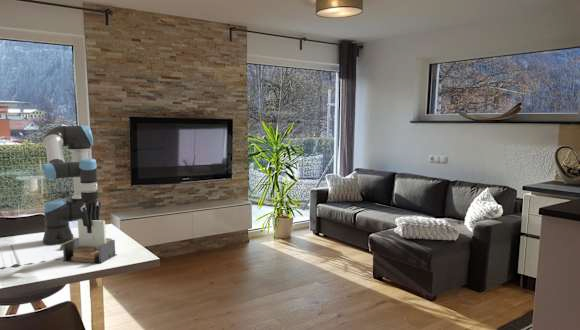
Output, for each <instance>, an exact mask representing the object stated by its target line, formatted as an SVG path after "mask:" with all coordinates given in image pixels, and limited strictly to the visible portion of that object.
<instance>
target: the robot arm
mask: <svg viewBox="0 0 580 330" xmlns="http://www.w3.org/2000/svg"><path fill="white" fill-rule="evenodd" d="M42 145H43V147H44V148H45V153H46V162H47V163H44V164H43V165H42V166H43V177H44V179H46V180H56V179H68V178H69V179H71V178H72V180H73V181H72V183H73V195H72V196H71V200H68V198H58V199H54V200H50V201H47V202H46V203H45V204H44V205H43V206H44V207H43V213H44V223H45V224H44V225H45V230H44V234H43V237H42V243H43V245H48V246H53V245H55V246H56V245H62V244H63V243H65V242H68V241H70V240H73V239H74V234H73V233H72V230H71V227H70V222H76V221H77V222H78V220H82V221H83V226H87V233H88V239H92V240H93V239H94V230H93V226H92V220H99V221H100V213H101V205H102V202H100V201H99V202H98V199H99V191H98V189H99V188H98V165H97V160H96V159H95V158H90V157H89V152H90V151H91V149H92V147H93V146H94V138H93V133H92V129H91V128H90V126H88V125H58V126H54V127H52V128H50V129H49V130H48V131H46V133H44V136H43V138H42ZM63 147H67V150H68V151H69V152H70V154H71V161H69V162H65V157H64V151H63Z"/></svg>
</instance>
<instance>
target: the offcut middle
mask: <svg viewBox="0 0 580 330" xmlns="http://www.w3.org/2000/svg"><path fill="white" fill-rule="evenodd" d="M98 256H99V251H95V252H93V253H91V254H85V253H73V257H82V258H96V257H98Z"/></svg>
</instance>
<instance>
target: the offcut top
mask: <svg viewBox="0 0 580 330" xmlns="http://www.w3.org/2000/svg"><path fill="white" fill-rule="evenodd" d="M95 251H96V247H90V246H78V247H76V248H74V249H73V253H85V254H91V253H93V252H95Z"/></svg>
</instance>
